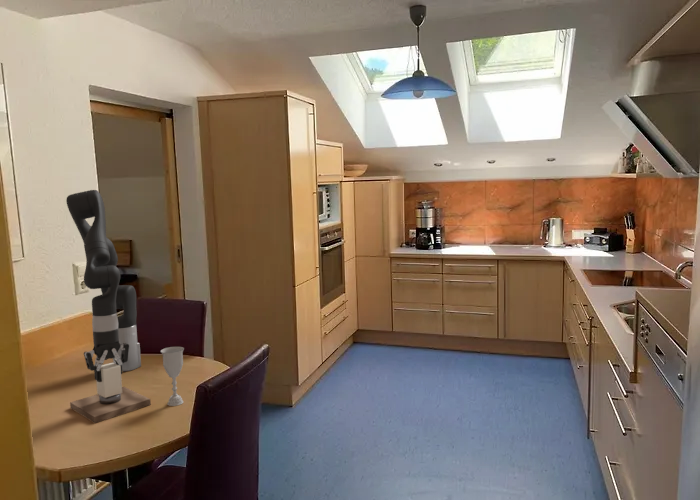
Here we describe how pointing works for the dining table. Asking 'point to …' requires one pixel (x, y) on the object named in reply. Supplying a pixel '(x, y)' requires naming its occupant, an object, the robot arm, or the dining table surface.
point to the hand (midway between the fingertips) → (108, 378)
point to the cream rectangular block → (110, 380)
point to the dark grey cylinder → (110, 399)
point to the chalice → (173, 370)
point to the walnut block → (109, 405)
